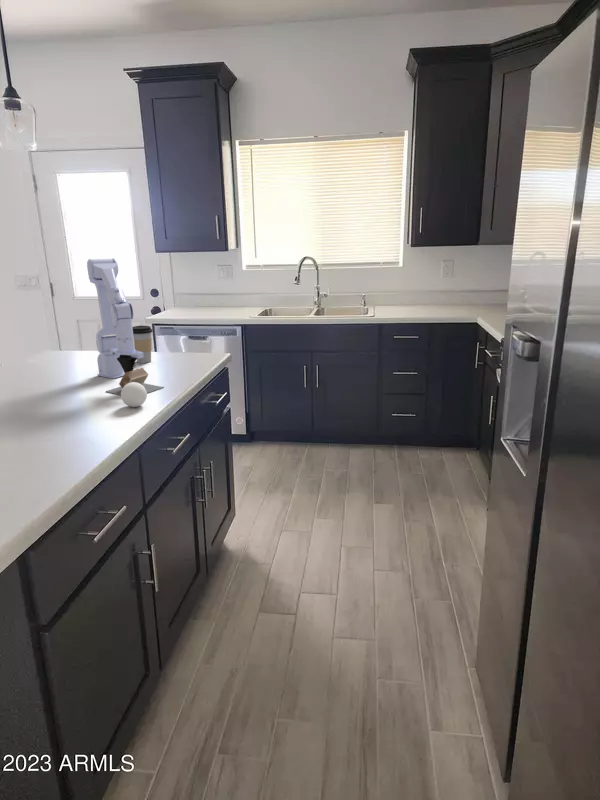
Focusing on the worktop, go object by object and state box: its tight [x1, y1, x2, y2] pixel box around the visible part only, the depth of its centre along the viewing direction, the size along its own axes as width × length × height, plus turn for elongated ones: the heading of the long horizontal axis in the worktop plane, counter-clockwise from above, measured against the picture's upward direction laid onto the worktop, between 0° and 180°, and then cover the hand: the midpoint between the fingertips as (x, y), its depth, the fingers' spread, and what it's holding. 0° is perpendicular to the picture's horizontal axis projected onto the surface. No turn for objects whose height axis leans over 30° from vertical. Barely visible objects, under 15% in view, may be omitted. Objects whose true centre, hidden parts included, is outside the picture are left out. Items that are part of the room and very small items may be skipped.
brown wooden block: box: [118, 367, 149, 388], centre depth 185 cm, size 4×8×6 cm
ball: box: [120, 382, 148, 408], centre depth 167 cm, size 8×8×8 cm
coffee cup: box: [132, 325, 153, 364], centre depth 223 cm, size 9×9×15 cm
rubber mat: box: [105, 382, 165, 396], centre depth 185 cm, size 14×14×1 cm
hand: (129, 376), depth 185 cm, fingers closed, pressing on brown wooden block
